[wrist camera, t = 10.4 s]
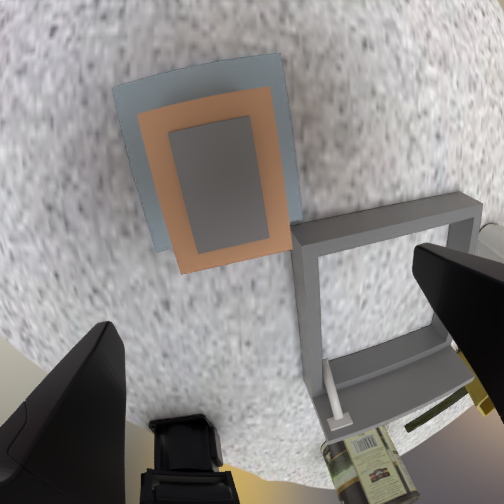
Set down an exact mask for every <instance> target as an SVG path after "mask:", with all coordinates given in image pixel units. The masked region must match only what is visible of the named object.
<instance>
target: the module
mask: <svg viewBox="0 0 504 504" xmlns="http://www.w3.org/2000/svg"><path fill="white" fill-rule="evenodd" d="M137 116H138V120H139V124H140V129H141V133H142V137H143V141H144V145H145V149H146V153H147V157H148V161H149V165H150V169H151V173H152V177H153V181H154V184H155V188H156V192H157V195H158V199H159V202H160V206H161V210H162V213H163V216H164V220H165V223H166V227H167V230H168V233H169V237H170V240H171V243H172V247H173V250H174V253H175V256H176V259H177V263H178V266H179V269H180V272H181V275H182V274H187V273H191V272H196V271H200V270H205V269H209V268H213V267H218V266H222V265H227V264H231V263H235V262H240V261H244V260H249V259H253V258H257V257H262V256H266V255H271V254H275V253H279V252H284V251H288V250H292V249H293V247H292V239H291V230H290V222H289V214H288V206H287V198H286V191H285V183H284V176H283V169H282V161H281V154H280V147H279V141H278V134H277V127H276V121H275V114H274V108H273V102H272V96H271V89H270V86H269V87H261V88H255V89H248V90H242V91H236V92H230V93H224V94H219V95H214V96H209V97H204V98H199V99H195V100H190V101H186V102H182V103H177V104H173V105H169V106H165V107H161V108H158V109H154V110H150V111H147V112H143V113H140V114H137Z"/></svg>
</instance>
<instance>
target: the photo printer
mask: <svg viewBox="0 0 504 504" xmlns="http://www.w3.org/2000/svg"><path fill="white" fill-rule="evenodd" d="M475 255H476V256H479V257H483V258H487V259H490V260H494V261H497V262H500V263H504V227H503V226H501V225H499V224H496V225H494V224H489V225H487V226H485V227H484V228H483V229H482V230H481V231H480V233H479V236H478V241H477V247H476V252H475Z"/></svg>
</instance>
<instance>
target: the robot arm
mask: <svg viewBox="0 0 504 504" xmlns="http://www.w3.org/2000/svg"><path fill="white" fill-rule="evenodd" d="M412 272H413V275H414V278H415V279H416V281H417V283H418V284H419V286H420V288H421V289H422V291H423V293H424V294H425V296H426V298H427V300H428V301H429V303H430V305H431V307H432V308H433V310H434V312H435V313H436V315H437V316H438V318H439V319H440V321H441V322H442V324H443V325H444V327H445V328H446V329H447V331H448V332H449V334H450V335H451V337H452V338H453V340H454V341H455V343H456V344H457V346H458V347H459V349H460V350H461V352H462V354H463V355H464V357H465V358H466V360H467V361H468V363H469V365H470V366H471V368H472V369H473V371H474V373H475V374H476V376H477V378H478V379H479V381H480V383H481V384H482V386H483V388H484V389H485V391H486V393H487V394H488V396H489V398H490V400H491V401H492V403H493V405H494V407H495V409H496V410H497V412H498V414H499V416H501V417H500V418H501V420H502V422H503V424H504V263H500V262H497V261H494V260H490V259H487V258H483V257H479V256H476V255H472V254H469V253H465V252H461V251H458V250H454V249H450V248H446V247H442V246H439V245H435V244H431V243H423V244H420V245H417V246H416V247H415V249H414V256H413V266H412ZM125 415H126V374H125V348H124V344H123V341H122V340H121V338H120V336H119V334H118V332H117V330H116V328H115V327H114V325H113V323H112V322H110V321H105V322H100V323H97V324H96V325H95V326H94V327H93V328H92V329H91V330H90V331H89V332H88V333H87V334H86V335H85V336H84V337H83V338H82V339H81V340H80V341H79V342H78V343H77V344H76V345H75V346H74V347H73V348H72V350H71V351H70V352H69V353H68V354H67V355H66V356H65V357H64V358H63V359H62V360H61V361H60V362H59V363H58V364H57V365H56V366H55V368H54V369H53V370H52V371H51V372H50V373H49V374H48V375H47V376H46V377H45V378H44V379H43V381H42V382H41V383H40V384H39V385H38V386H37V387H36V388H35V389H34V390H33V392H32V393H31V394H30V395H29V396H28V397H27V398H26V402H25V401H24V402H23V403H22V404H21V405H20V406H19V407H18V408H17V410H16V411H15V412H14V413H13V414H12V415H11V416H10V417H9V418H8V420H7V421H6V422H5V423H4V424H3V425H2V426H1V427H0V504H126V503H125V467H124V465H125V464H124V462H125V460H124V459H125V458H124V457H125V450H124V449H125ZM149 428H150V429H151V430H152V432H153V433H154V436H155V437H154V470H153V469H151V468H150V469H149V468H147V472H145V473H142V474H141V491H140V504H240V502H239V498H238V494H237V491H236V488H235V484H234V481H233V477H232V474H231V471H225V472H219V468H218V467H222V465H223V459H222V452H221V445H220V437H219V435H218V433H217V432H216V430H215V428H214V427H213V426H211V425H210V424H209V422H208V420H207V418H206V417H205V416H204V415H197V416H191V417H184V418H177V419H169V420H161V421H152V422H149ZM153 488H154V489H153Z"/></svg>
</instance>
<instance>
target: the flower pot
mask: <svg viewBox="0 0 504 504" xmlns="http://www.w3.org/2000/svg"><path fill="white" fill-rule="evenodd" d="M458 355H459V356H460V358H461V359H462V360H463V361H464V363H465V364H466V365H467V366H468V368H469V369H470V370H471V372H472V373H473V374H474V375H475V377H474V379H473V381H472V382H470V383H468V384H467V385H465V388H466V389H467V391H468V393H469V395H470V397H471V398H472V400H473V402H474V404H475V406H476V408H478V410H479V411H480V412H481V414H482V416H483V417H486V416H487V415H488V414H489V413H491V412H492V411H493V410H494V409H495V407H494V405H493V403H492V401H491V400H490V398H489V396H488V394H487V393H486V391H485V389H484V388H483V386H482V384H481V383H480V381H479V379H478V378H477V376H476V374H475V373H474V371H473V369H472V368H471V366H470V365H469V363H468V361H467V360H466V358H465V357H464V355H463V354H462V352H461V351H460V352H459V353H458Z"/></svg>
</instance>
